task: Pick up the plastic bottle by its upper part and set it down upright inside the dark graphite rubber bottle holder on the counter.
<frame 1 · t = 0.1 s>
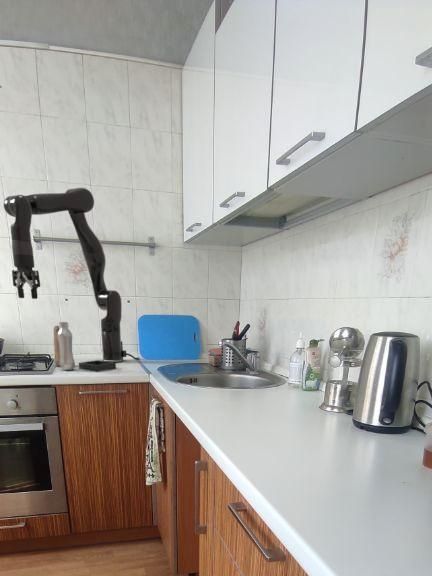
hand: (28, 298, 189), 29 cm above the countertop, tool pointing down, fingers open, 8 cm apart
holder: (97, 368, 212), on the countertop
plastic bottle: (67, 370, 206), on the countertop
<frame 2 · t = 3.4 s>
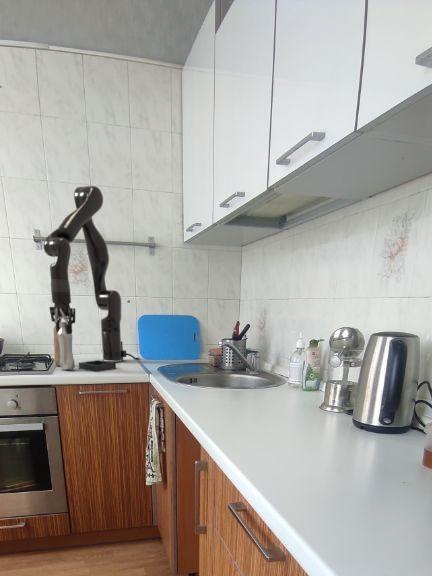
hand: (64, 333, 200), 16 cm above the countertop, tool pointing down, fingers closed on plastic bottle, 6 cm apart
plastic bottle: (67, 370, 206), on the countertop, touching gripper
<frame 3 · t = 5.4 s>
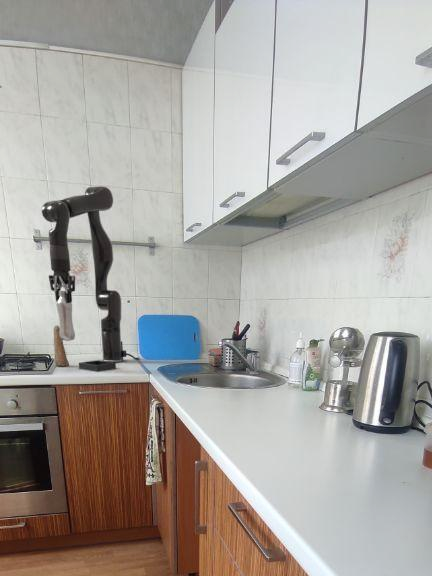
hand: (63, 302, 196), 28 cm above the countertop, tool pointing down, fingers closed on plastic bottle, 6 cm apart
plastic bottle: (67, 341, 202), point 12 cm above the countertop, touching gripper
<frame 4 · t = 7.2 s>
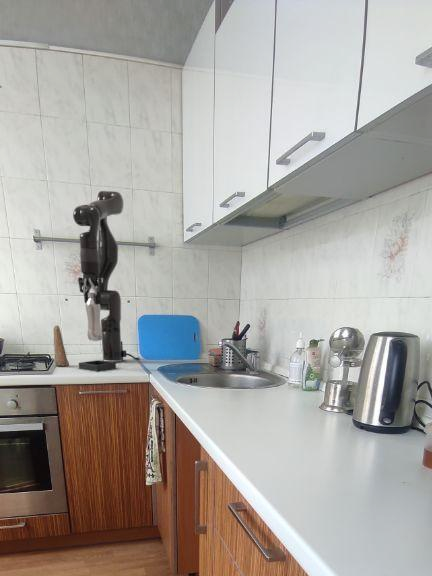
hand: (92, 303, 202), 28 cm above the countertop, tool pointing down, fingers closed on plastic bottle, 6 cm apart
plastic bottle: (95, 341, 208), point 12 cm above the countertop, touching gripper
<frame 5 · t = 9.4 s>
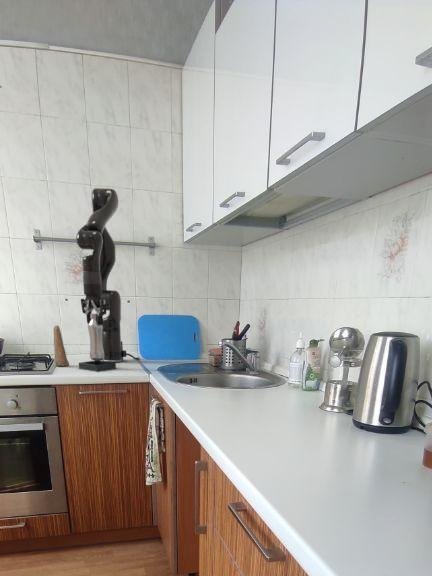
hand: (94, 324, 205), 19 cm above the countertop, tool pointing down, fingers closed on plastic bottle, 6 cm apart
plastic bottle: (97, 361, 211), point 3 cm above the countertop, touching gripper
when the fingers open (16 cm above the countertop, at t = 11.0 s): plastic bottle stays where it is, resting on holder.
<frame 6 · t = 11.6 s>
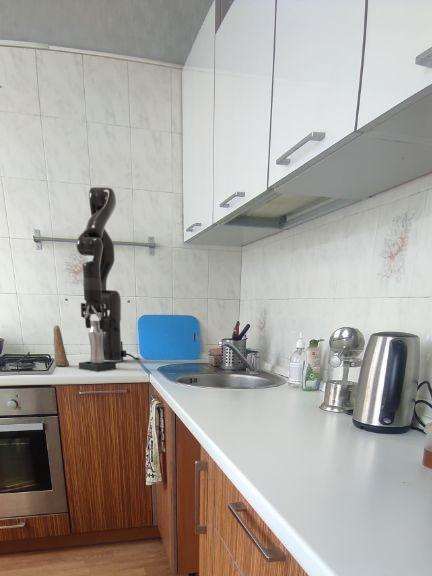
hand: (95, 328, 206), 17 cm above the countertop, tool pointing down, fingers open, 8 cm apart
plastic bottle: (97, 367, 212), resting on holder
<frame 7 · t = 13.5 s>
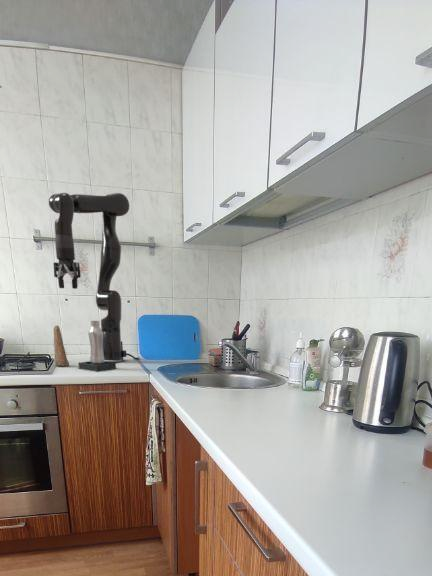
hand: (68, 288, 205), 33 cm above the countertop, tool pointing down, fingers open, 8 cm apart
nothing on the countertop moved.
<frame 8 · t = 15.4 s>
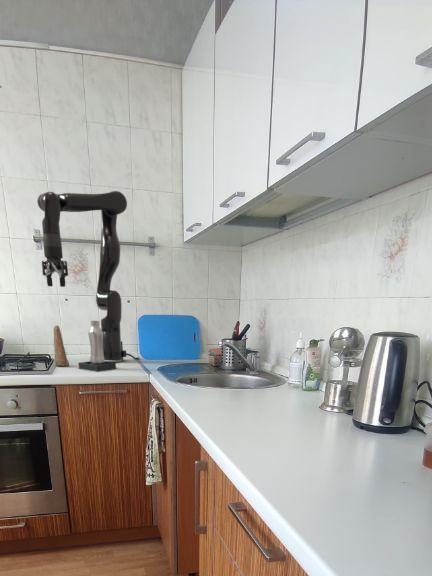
hand: (56, 286, 207), 34 cm above the countertop, tool pointing down, fingers open, 8 cm apart
nothing on the countertop moved.
at the end: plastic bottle 0.1 cm off-centre in the holder, point 0.4 cm above the holder's base; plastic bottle tilted 0°; the gripper is holding nothing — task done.
